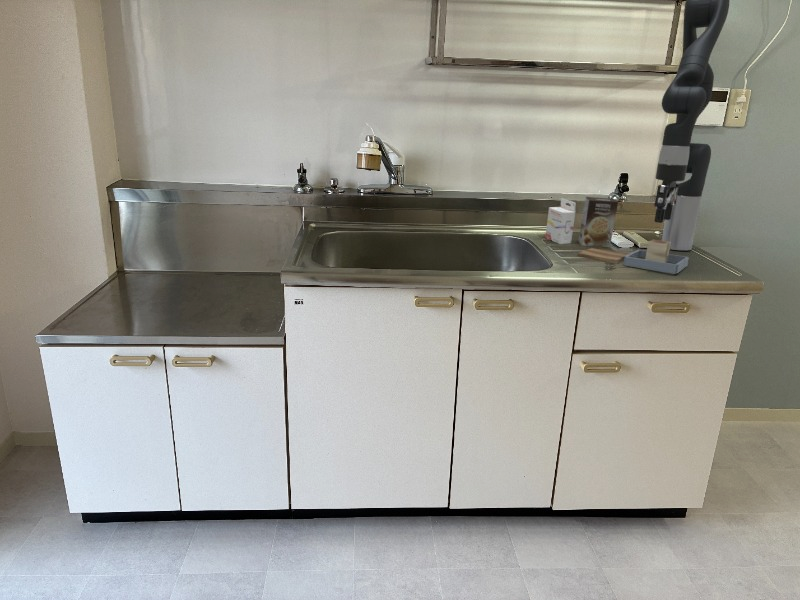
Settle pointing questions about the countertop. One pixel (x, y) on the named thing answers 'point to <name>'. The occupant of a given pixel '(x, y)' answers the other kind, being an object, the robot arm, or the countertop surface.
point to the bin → (656, 262)
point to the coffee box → (598, 221)
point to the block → (658, 250)
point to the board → (603, 255)
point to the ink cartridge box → (561, 222)
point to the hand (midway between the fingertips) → (662, 221)
